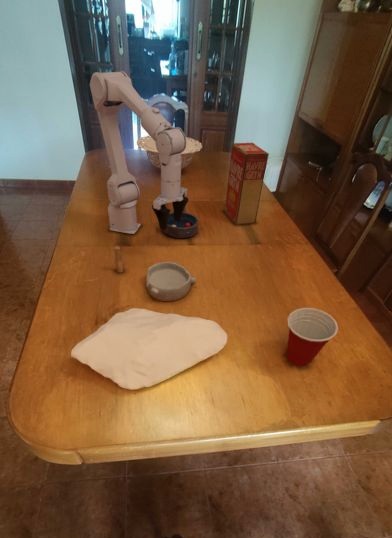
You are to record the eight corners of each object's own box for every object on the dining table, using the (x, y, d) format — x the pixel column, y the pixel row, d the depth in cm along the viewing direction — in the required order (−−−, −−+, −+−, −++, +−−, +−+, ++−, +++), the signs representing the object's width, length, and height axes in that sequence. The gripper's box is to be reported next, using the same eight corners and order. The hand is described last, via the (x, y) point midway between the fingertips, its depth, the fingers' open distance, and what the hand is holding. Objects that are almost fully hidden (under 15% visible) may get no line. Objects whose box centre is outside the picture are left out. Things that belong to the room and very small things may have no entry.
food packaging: (222, 210, 134) (231, 142, 116) (243, 209, 136) (254, 141, 118) (235, 225, 125) (246, 153, 107) (256, 223, 128) (270, 153, 110)
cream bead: (170, 231, 117) (170, 225, 116) (171, 228, 119) (171, 223, 117) (175, 232, 117) (175, 226, 115) (177, 229, 118) (177, 224, 117)
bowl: (157, 235, 116) (157, 224, 113) (168, 220, 125) (168, 209, 122) (193, 242, 114) (194, 231, 111) (201, 225, 123) (202, 215, 120)
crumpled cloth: (75, 323, 80) (66, 298, 72) (208, 307, 87) (213, 282, 79) (79, 408, 67) (69, 389, 60) (234, 381, 74) (242, 360, 67)
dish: (155, 308, 88) (154, 293, 84) (137, 280, 96) (136, 266, 92) (201, 295, 93) (202, 281, 89) (180, 270, 101) (181, 256, 97)
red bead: (184, 229, 119) (184, 223, 117) (185, 226, 121) (185, 221, 119) (189, 230, 119) (190, 224, 117) (191, 227, 120) (191, 222, 119)
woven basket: (174, 158, 177) (174, 131, 168) (213, 175, 162) (216, 147, 153) (125, 168, 161) (122, 139, 152) (164, 188, 146) (164, 157, 137)
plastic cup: (270, 342, 81) (282, 306, 73) (310, 342, 82) (327, 306, 74) (281, 376, 74) (296, 340, 65) (325, 374, 75) (346, 339, 66)
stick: (116, 272, 98) (112, 248, 93) (118, 268, 100) (115, 245, 94) (121, 273, 98) (118, 249, 92) (123, 269, 99) (121, 246, 94)
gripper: (167, 189, 86) (167, 236, 96) (196, 175, 94) (193, 220, 104) (146, 183, 88) (148, 229, 98) (176, 170, 97) (176, 214, 107)
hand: (170, 224), depth 101 cm, fingers open, 7 cm apart
